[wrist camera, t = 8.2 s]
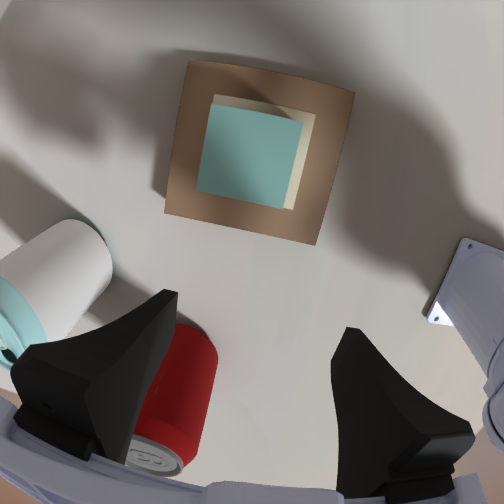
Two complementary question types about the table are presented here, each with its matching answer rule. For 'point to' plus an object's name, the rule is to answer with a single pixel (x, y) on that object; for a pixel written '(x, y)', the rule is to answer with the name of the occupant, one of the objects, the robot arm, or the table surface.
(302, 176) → the walnut base
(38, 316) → the can
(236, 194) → the teal block
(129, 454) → the beverage can
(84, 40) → the table surface
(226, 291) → the table surface
